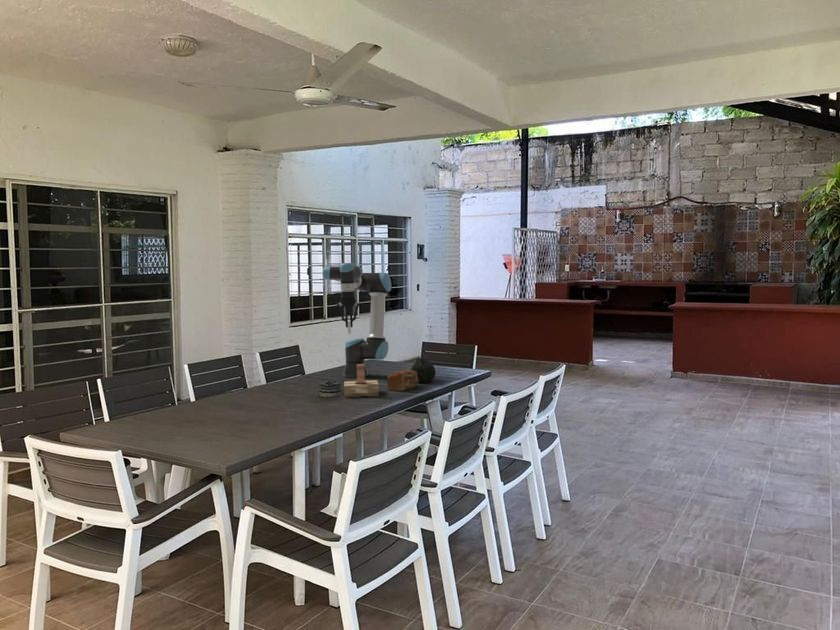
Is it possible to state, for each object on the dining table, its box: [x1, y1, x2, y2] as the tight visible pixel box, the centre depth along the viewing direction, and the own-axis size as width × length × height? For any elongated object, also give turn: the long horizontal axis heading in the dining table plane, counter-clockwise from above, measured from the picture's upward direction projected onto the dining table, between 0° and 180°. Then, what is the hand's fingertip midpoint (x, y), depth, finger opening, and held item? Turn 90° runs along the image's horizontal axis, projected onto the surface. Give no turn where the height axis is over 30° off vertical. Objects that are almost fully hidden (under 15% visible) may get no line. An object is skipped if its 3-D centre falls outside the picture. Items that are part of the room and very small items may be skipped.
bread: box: [386, 369, 419, 392], centre depth 369 cm, size 19×11×10 cm, turn 150°
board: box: [343, 379, 380, 398], centre depth 354 cm, size 14×18×6 cm
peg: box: [356, 364, 366, 384], centre depth 353 cm, size 4×4×14 cm
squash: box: [410, 357, 437, 384], centre depth 385 cm, size 14×15×15 cm
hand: (349, 333), depth 366 cm, fingers closed
